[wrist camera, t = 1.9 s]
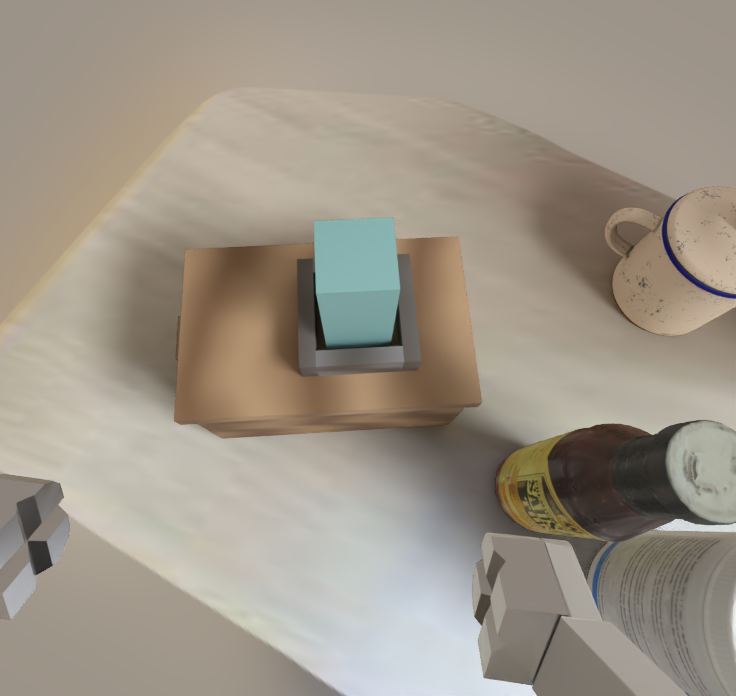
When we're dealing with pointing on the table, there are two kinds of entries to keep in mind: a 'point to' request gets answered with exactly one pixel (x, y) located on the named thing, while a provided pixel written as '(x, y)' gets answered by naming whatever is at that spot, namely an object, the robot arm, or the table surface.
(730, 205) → the teacup with lid
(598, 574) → the supplement tub
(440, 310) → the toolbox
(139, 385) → the table surface
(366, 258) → the teal rectangular block
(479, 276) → the table surface
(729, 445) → the sauce bottle
